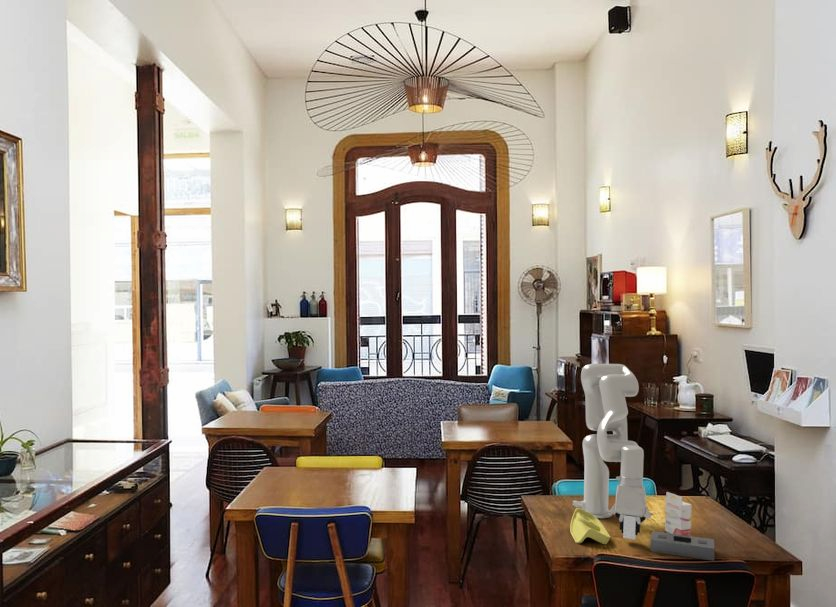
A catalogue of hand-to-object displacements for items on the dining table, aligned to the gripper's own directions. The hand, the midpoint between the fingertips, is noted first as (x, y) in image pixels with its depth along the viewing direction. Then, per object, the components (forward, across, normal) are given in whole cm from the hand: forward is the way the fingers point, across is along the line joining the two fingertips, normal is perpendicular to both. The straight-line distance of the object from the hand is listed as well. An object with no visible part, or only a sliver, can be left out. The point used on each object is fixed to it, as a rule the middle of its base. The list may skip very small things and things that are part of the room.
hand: (629, 532), depth 247 cm
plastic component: (+4, -14, +1) cm, 15 cm away
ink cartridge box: (+4, +15, +18) cm, 24 cm away
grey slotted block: (+3, +17, -1) cm, 18 cm away
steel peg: (+1, 0, 0) cm, 1 cm away
